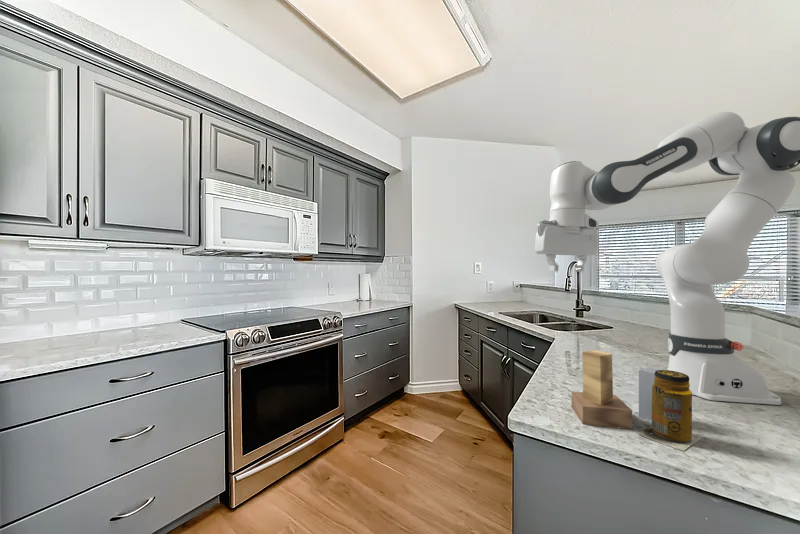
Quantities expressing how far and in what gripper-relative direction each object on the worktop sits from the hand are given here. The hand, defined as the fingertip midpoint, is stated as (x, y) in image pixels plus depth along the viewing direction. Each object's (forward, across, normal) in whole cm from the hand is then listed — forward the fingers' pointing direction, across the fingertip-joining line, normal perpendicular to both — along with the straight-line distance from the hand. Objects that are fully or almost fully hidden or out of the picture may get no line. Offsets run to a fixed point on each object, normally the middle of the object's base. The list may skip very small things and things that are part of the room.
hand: (566, 271), depth 96 cm
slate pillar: (+31, -1, -23) cm, 39 cm away
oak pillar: (+28, -11, -18) cm, 35 cm away
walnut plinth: (+32, -11, -19) cm, 38 cm away
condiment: (+31, -7, -30) cm, 44 cm away
